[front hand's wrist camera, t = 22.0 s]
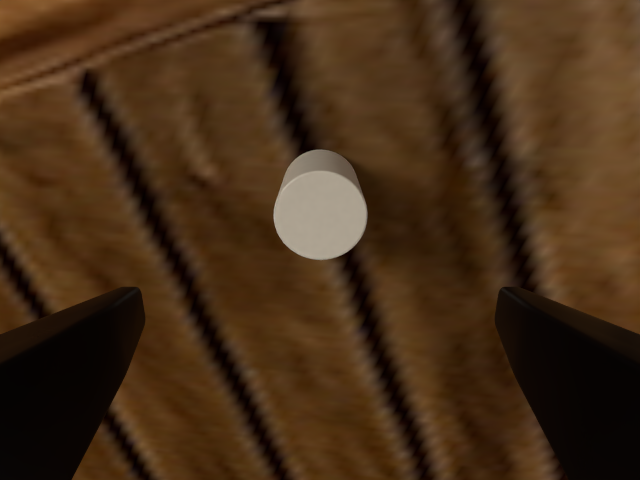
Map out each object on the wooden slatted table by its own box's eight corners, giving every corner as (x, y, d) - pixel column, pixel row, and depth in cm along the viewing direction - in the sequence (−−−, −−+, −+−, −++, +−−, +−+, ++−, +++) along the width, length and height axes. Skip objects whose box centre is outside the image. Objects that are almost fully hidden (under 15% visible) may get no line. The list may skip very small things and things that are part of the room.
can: (300, 136, 21) (295, 154, 17) (370, 168, 22) (384, 194, 17) (271, 204, 23) (259, 239, 18) (338, 233, 23) (343, 273, 19)
